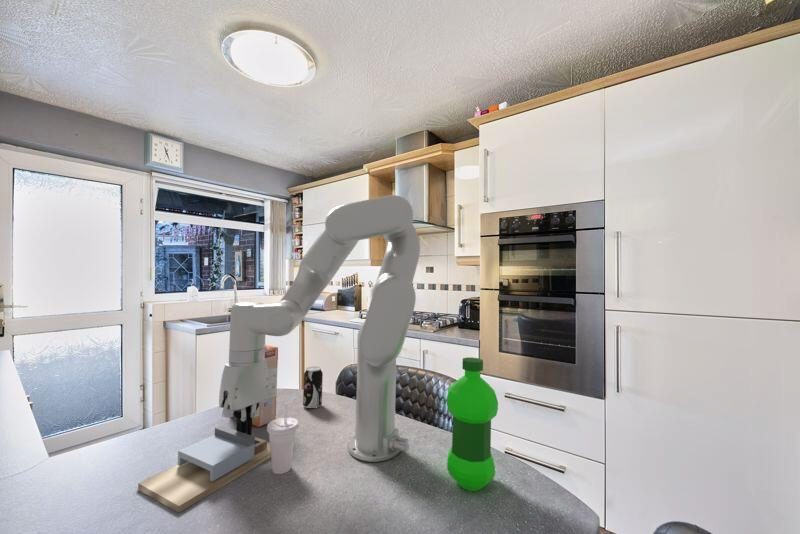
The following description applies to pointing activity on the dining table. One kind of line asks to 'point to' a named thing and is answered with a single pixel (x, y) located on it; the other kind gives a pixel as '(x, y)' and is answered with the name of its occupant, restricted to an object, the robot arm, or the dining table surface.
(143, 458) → the dining table surface
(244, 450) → the lid
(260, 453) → the board
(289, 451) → the smoothie
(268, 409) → the cracker box
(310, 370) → the beverage can
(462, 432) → the plastic bottle
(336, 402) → the dining table surface
